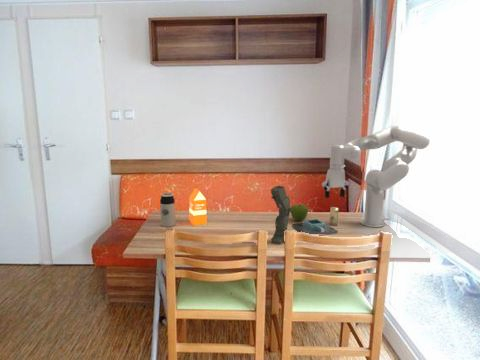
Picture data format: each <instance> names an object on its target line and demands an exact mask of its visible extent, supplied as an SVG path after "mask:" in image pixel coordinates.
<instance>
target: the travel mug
mask: <svg viewBox="0 0 480 360" xmlns="http://www.w3.org/2000/svg"><path fill="white" fill-rule="evenodd" d="M174 195H175V193H172V192H164V193H161V194H160V200H159V203H160V225H161V227H165V228H168V227H169V228H171V227H174V226H175V225H176V205H175V204H176V202H175V198H174V197H175V196H174Z"/></svg>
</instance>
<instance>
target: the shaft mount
mask: <svg viewBox="0 0 480 360" xmlns="http://www.w3.org/2000/svg"><path fill="white" fill-rule="evenodd" d="M291 227H292V228H294V229H295V230H297V231H298V232H300V231H302V232H305V233H309V234H327V235H335V234H338V232H339V230H337V229H336V228H334V227H333V226H331V225H330V224H326V223H325V222H323V221H321V220H320V219H318V218H315V219H304V220H302V222H297V223H295V222H294V223H291Z"/></svg>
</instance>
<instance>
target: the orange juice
mask: <svg viewBox="0 0 480 360" xmlns="http://www.w3.org/2000/svg"><path fill="white" fill-rule="evenodd" d="M188 200H189V201H188V204H189V205H188V206H189V207H188V208H189V222H190V223H191V224H192V226H194V225H196V226H200V225H201V224H203V225H207V223H208V222H207V198H206V197H205V196H204V195H203V193H202V192H201V190H199V189H198V188H196V187H195V188H194V189H193V191H192V193H191V194H190V196H189V197H188Z"/></svg>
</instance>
